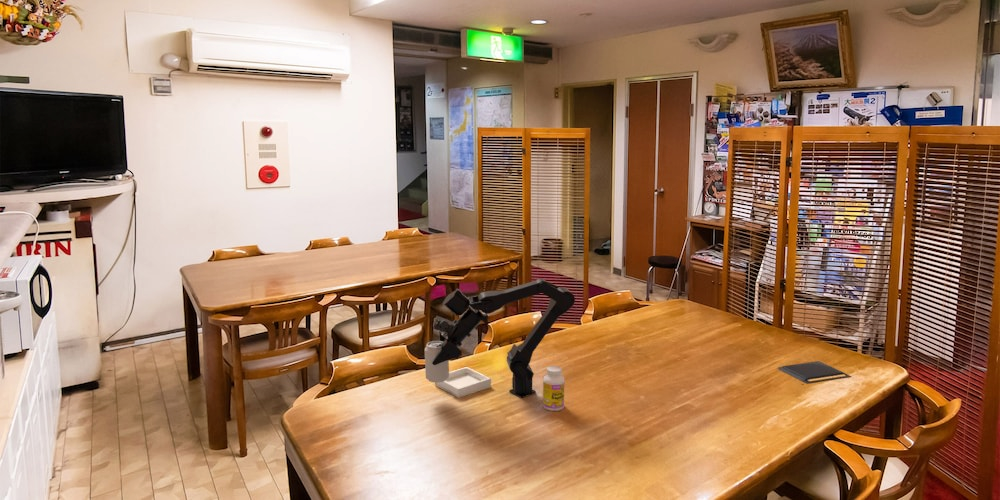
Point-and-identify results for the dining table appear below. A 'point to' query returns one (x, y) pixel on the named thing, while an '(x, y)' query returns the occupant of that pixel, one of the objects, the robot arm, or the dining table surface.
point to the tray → (464, 382)
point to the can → (435, 371)
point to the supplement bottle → (553, 389)
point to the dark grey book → (813, 372)
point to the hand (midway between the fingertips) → (432, 359)
